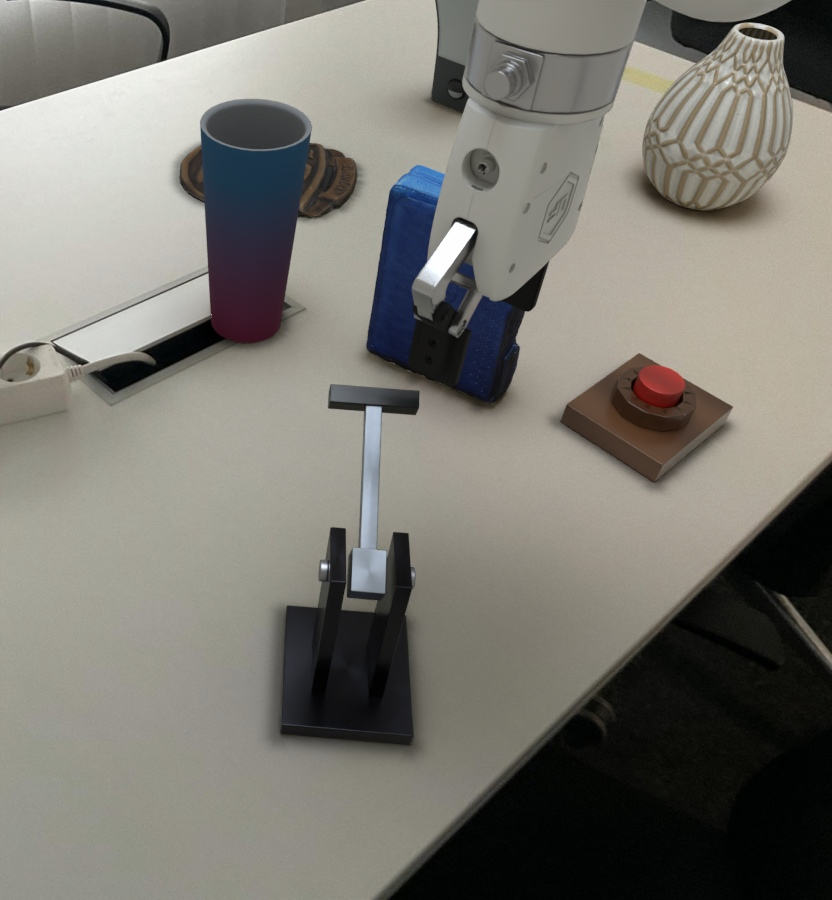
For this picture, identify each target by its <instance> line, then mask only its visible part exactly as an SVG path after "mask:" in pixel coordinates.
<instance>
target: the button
mask: <svg viewBox="0 0 832 900" xmlns="http://www.w3.org/2000/svg"><path fill="white" fill-rule="evenodd" d="M683 378H684V377H683V376H682V375H681V374H680V373H678V372H677V371H676V370H674V369H672V368H669V367H668V366H663V365H661V366H658V365H651V366H647V367H644V368H643V369H642V370H641V371H640V373H639V375H638V377H637V379H636V382H635V384H634V386H633V391H634V394H635V395H636V397H637V398H638V399H640V400H641V401H643V402H645V403H646V404H648V405H651V406H656V407H660V408H671V407H673V406H675V405H676V404H677V403H678V401H679V399H680V397H681V395H682V393H683V391H684V389H685V381H684V379H685V378H684V379H683Z"/></svg>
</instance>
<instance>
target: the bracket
mask: <svg viewBox="0 0 832 900" xmlns="http://www.w3.org/2000/svg"><path fill="white" fill-rule="evenodd" d="M328 535H329V536H328V541H327V545H326V551H325V559H320V560H319V564H318V575H317V577H318V582H319V583H321V584H320V589H319V596H318V602H317V607H314V606H301V605H289V604H288V605H286V608H285V615H284V617H285V618H284V619H285V620H284V640H283V644H284V645H283V659H282V660H283V661H282V679H281V680H282V683H281V702H280V704H281V705H280V706H281V707H280V725H279V732H280V734H286V735H294V736H295V735H296V736H307V737H318V738H319V737H321V738H331V739H341V740H343V739H344V740H352V741H353V740H355V741H364V742H365V741H366V742H375V743H377V742H378V743H387V744H388V743H389V744H398V745H399V744H401V745H411V744H412V742H413V739H414V721H413V719H414V718H413V706H412V705H413V703H412V690H411V689H412V688H411V673H410V672H411V671H410V657H409V656H410V655H409V641H408V623H407V622H408V621H407V615H406V613H407V609H408V606H409V602H410V599H411V595H412V592H413V590H414V589H415V586H416V581H417V580H416V579H417V577H416V576H417V573H416V572H417V571H416V567H415V566H412V561H411V546H410V533H409V532H401V531H393V532H392V535H391V539H390V543H389V548H388V551H387V574H386V594H385V595H384V597H383V598H382V599H381V600H380V601H378V600H376V604H375V608H374V612H372V611H362V610H361V611H360V610H351V609H349V610H347V609H342V608H343V602H344V597H345V592H346V588H347V529H346V527H336V526H331V527H330V528H329V534H328Z"/></svg>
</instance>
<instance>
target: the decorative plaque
mask: <svg viewBox="0 0 832 900" xmlns="http://www.w3.org/2000/svg"><path fill="white" fill-rule="evenodd" d="M179 168H180V170H179V181H180V184H181V185H182V187H183V189H184V190H185V191H186V192H187V193H188V194H189V195H191V196H192V197H194V198H195V199H198V200H200V201H202V202H204V185H203V167H202V148H201V144H200V145H198V146H197V147H195V148H194V149H193V150H191V151H190V152H189V153H188V154H187V155H186V156H185V157H184V158H183V159H182V160H181V163H180V167H179ZM357 180H358V169H357V164H356V161H355V160H354V158H351V157H346V156H345V154H344V152H341V151H339V150H338V149H333V148H325V147H324V146H323V145H322V144H321V143H318V142H310V143H309V149H308V156H307V162H306V168H305V174H304V181H303V187H302V193H301V199H300V206H299V212H298V216H304V217H305V216H306V217H318V216H323V215H326V214H328V213H329V212H331V211H333V210H334V209H338V208H340V207H342V205H343V204H344V203H345V202H347V200H348V199H349V197H350V196H352V193H353V191H354V190H355V187H356V184H357Z"/></svg>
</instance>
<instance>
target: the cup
mask: <svg viewBox="0 0 832 900" xmlns="http://www.w3.org/2000/svg"><path fill="white" fill-rule="evenodd" d="M199 128H200V145H201V148H202V167H203V185H204V201H203V202H204V203H203V204H204V218H205V219H204V220H205V237H206V255H207V256H206V257H207V273H208V274H207V275H208V288H209V289H208V291H209V293H208V294H209V309H210V312H209V313H210V315H211V314H212V318H211V317H210V325H211V327H212V328H213V330H214V331H215V332H216V334H218V335H219V336H221V337H222V338H224V339H225V340H229V341H231V342H234V343H241V344H254V343H255V344H256V343H260V342H263V341H266V340H269V339H270V338H272V337H274V336H275V335H276V334H277V333H278V331H279V330H280V328H281V323H282V318H283V312H284V305H285V300H286V299H285V298H286V292H287V285H288V280H289V273H290V266H291V261H292V255H293V248H294V242H295V237H296V230H297V224H298V218H299V215H298V212H299V206H300V199H301V193H302V187H303V181H304V174H305V168H306V162H307V156H308V149H309V143H311V136H312V131H313V125H312V121H311V120H310V118H309V117H308V116H307V114H305V112H303V111H301V110H300V109H299V108H297V107H294V106H292V105H290V104H287V103H285V102H281V101H276V100H271V99H265V98H264V99H263V98H239V99H232V100H227V101H224V102H221V103H218V104H216V105H213V106H211V107H210V108H208V109H207V110H206V111H205V112H204V113H203V114H202V115H201V117H200V120H199Z"/></svg>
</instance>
